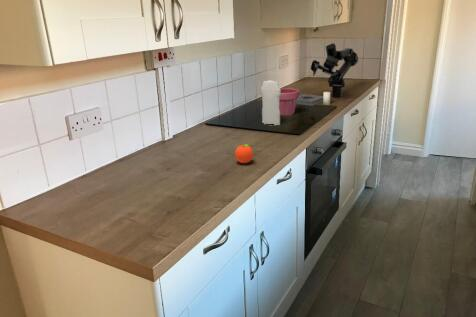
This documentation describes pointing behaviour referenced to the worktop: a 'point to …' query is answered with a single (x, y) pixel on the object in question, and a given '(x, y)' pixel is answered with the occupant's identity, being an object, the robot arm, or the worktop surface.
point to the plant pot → (288, 101)
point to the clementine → (244, 153)
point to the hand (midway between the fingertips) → (320, 78)
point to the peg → (326, 98)
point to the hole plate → (309, 99)
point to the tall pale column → (270, 102)
